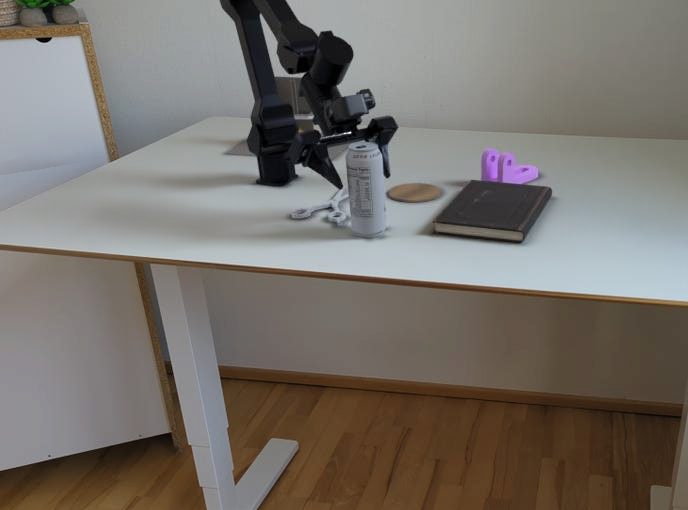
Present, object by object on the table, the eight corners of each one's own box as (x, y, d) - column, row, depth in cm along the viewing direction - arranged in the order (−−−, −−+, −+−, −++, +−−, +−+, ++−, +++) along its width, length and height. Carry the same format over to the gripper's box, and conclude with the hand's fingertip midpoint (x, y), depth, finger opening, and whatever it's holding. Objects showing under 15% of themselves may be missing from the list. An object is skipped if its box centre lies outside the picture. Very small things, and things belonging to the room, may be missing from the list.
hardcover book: (433, 233, 136) (432, 220, 135) (471, 190, 155) (471, 179, 154) (523, 243, 132) (524, 230, 131) (551, 198, 151) (552, 186, 150)
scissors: (284, 217, 141) (330, 181, 158) (285, 221, 142) (330, 184, 158) (340, 222, 139) (380, 185, 155) (340, 226, 139) (380, 189, 156)
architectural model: (331, 159, 173) (325, 90, 166) (225, 153, 178) (214, 86, 170) (360, 135, 190) (355, 71, 182) (262, 130, 194) (254, 67, 187)
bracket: (502, 191, 155) (503, 155, 151) (481, 185, 158) (481, 150, 155) (543, 175, 163) (544, 141, 160) (522, 169, 166) (523, 136, 163)
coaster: (380, 198, 152) (380, 196, 151) (401, 182, 160) (401, 180, 159) (428, 204, 149) (428, 202, 148) (448, 188, 157) (448, 186, 156)
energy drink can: (394, 231, 137) (389, 145, 130) (367, 241, 134) (361, 153, 126) (371, 223, 141) (365, 138, 133) (344, 232, 137) (337, 146, 129)
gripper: (288, 81, 123) (330, 168, 121) (389, 66, 133) (429, 146, 131) (272, 122, 132) (311, 203, 130) (367, 105, 142) (405, 181, 140)
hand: (365, 182), depth 133 cm, fingers open, 9 cm apart
